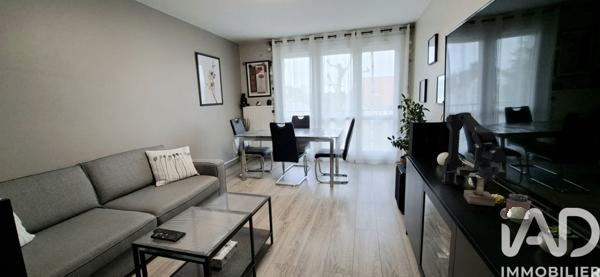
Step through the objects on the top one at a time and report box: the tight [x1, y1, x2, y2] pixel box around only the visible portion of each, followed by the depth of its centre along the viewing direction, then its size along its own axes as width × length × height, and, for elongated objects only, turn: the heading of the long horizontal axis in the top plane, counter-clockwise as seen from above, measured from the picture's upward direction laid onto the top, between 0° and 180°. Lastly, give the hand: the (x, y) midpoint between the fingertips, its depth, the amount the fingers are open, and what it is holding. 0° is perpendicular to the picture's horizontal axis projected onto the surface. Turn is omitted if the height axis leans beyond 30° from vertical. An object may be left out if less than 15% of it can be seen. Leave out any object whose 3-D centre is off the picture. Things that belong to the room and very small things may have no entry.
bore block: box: [463, 189, 496, 207], centre depth 121 cm, size 9×10×4 cm
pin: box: [474, 176, 484, 195], centre depth 120 cm, size 3×3×8 cm
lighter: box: [504, 193, 532, 218], centre depth 104 cm, size 8×3×10 cm, turn 71°
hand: (479, 189), depth 120 cm, fingers closed on pin, 3 cm apart
